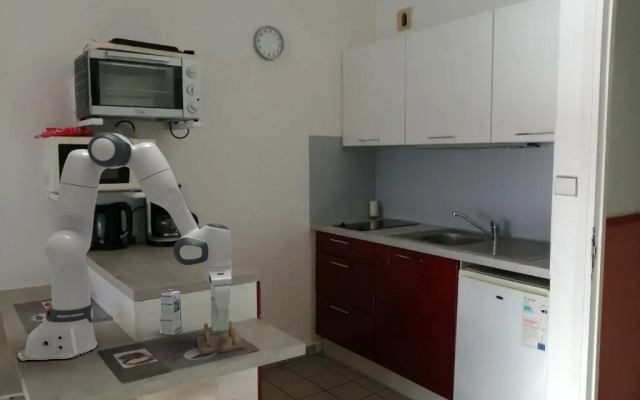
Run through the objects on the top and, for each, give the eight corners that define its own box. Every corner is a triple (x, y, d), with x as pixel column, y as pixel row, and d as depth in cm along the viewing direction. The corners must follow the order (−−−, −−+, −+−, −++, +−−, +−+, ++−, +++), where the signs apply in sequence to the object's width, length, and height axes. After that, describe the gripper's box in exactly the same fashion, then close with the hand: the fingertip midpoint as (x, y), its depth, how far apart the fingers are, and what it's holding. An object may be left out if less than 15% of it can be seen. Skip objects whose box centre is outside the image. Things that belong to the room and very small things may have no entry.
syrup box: (174, 335, 183) (173, 293, 182) (158, 334, 184) (157, 293, 183) (182, 330, 188) (180, 289, 187) (166, 329, 189) (165, 289, 188)
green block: (213, 331, 170) (212, 300, 169) (211, 326, 175) (210, 296, 174) (228, 329, 171) (228, 299, 171) (226, 325, 176) (226, 295, 175)
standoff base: (199, 354, 165) (199, 335, 164) (196, 339, 178) (195, 322, 178) (244, 349, 169) (244, 330, 168) (238, 335, 182) (237, 318, 182)
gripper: (205, 268, 181) (206, 308, 182) (211, 281, 161) (213, 326, 162) (224, 266, 182) (225, 306, 184) (232, 279, 163) (233, 323, 164)
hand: (219, 315), depth 173 cm, fingers closed on green block, 5 cm apart
